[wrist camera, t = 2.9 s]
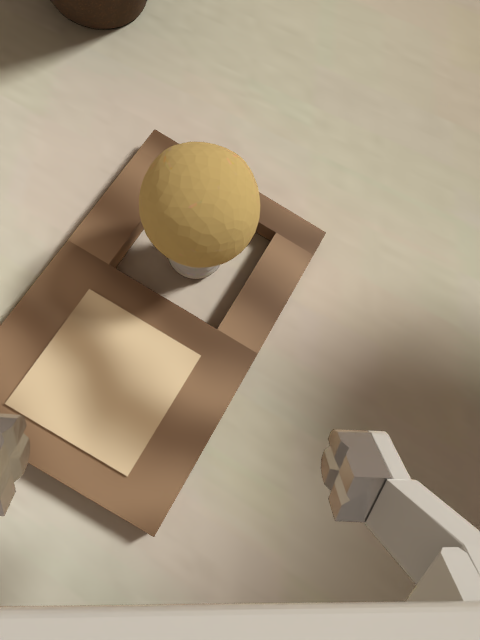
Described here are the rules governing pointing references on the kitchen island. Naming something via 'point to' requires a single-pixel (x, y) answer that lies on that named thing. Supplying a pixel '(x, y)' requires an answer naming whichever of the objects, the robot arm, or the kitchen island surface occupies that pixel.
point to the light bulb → (199, 206)
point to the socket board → (134, 355)
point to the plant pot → (100, 12)
